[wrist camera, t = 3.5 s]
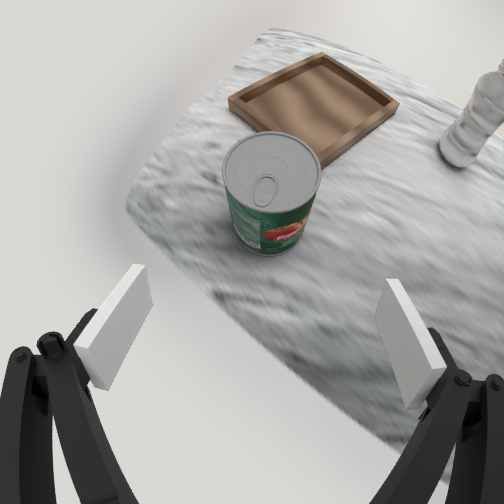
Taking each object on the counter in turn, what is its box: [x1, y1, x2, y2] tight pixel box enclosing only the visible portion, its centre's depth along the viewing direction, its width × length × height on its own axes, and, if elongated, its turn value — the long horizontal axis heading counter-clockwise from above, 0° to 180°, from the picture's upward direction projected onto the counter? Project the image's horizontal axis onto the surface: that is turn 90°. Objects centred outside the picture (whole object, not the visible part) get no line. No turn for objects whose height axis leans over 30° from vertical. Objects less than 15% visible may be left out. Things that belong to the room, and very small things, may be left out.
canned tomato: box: [222, 131, 321, 256], centre depth 28 cm, size 8×8×11 cm
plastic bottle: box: [439, 59, 504, 167], centre depth 26 cm, size 6×7×20 cm
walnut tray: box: [228, 52, 400, 170], centre depth 37 cm, size 20×16×2 cm
